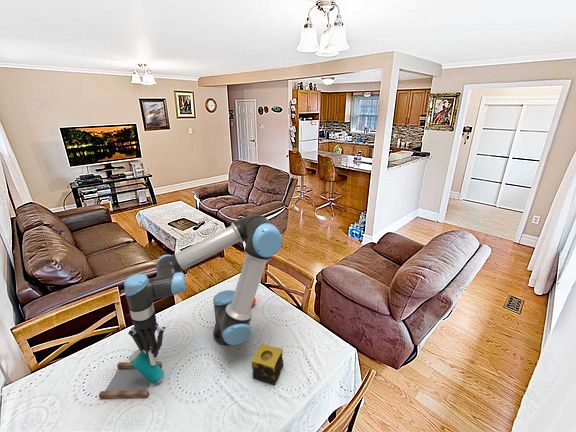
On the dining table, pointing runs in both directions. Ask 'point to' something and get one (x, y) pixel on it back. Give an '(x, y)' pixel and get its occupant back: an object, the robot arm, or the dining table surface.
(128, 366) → the rail right
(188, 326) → the dining table surface
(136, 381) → the mat
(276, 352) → the candle
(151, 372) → the beverage can
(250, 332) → the robot arm
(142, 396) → the rail left
